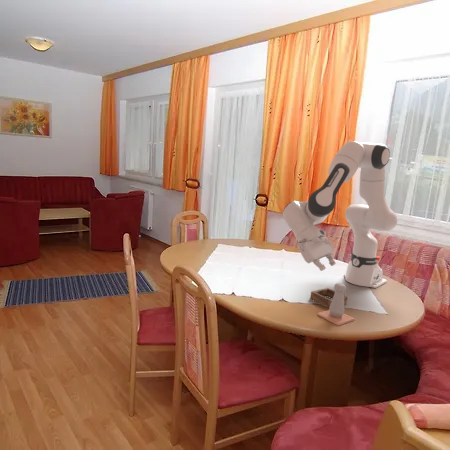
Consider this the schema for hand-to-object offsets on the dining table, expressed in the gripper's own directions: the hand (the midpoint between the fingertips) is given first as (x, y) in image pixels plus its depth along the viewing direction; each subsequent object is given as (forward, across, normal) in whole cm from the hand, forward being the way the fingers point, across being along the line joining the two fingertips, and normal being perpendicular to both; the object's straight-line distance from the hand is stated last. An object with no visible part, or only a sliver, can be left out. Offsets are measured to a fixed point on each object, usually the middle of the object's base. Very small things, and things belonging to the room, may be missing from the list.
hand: (328, 267), depth 146 cm
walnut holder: (+11, +13, +16) cm, 23 cm away
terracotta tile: (+18, 0, +10) cm, 20 cm away
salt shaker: (+17, 0, +9) cm, 19 cm away
